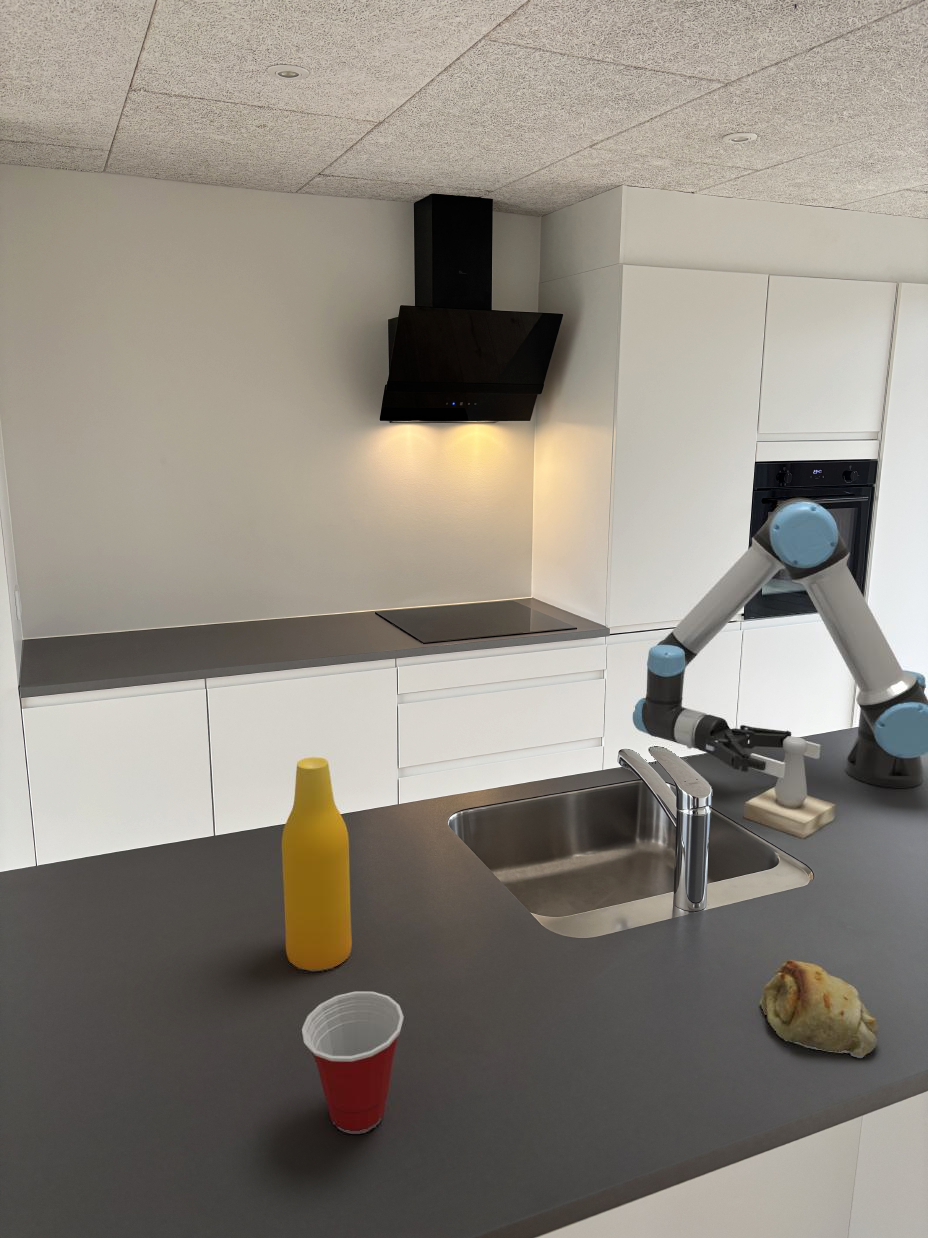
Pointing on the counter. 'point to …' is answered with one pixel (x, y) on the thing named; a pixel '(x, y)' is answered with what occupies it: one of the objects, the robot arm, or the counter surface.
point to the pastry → (818, 1010)
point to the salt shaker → (792, 774)
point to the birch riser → (789, 814)
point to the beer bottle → (316, 873)
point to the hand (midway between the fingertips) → (802, 761)
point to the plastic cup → (354, 1054)
